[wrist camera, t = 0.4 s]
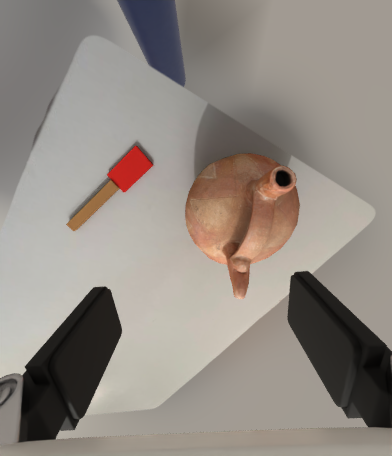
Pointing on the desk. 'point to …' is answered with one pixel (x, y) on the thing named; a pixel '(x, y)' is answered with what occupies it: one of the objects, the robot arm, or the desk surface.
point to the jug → (242, 212)
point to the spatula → (114, 184)
